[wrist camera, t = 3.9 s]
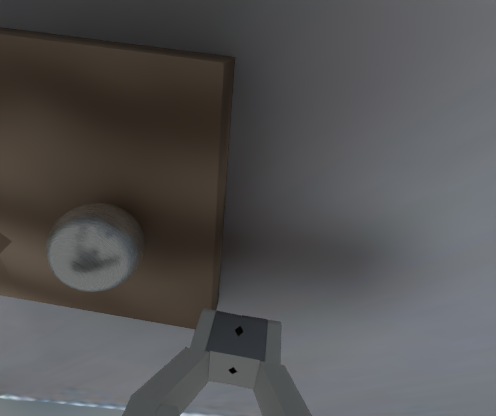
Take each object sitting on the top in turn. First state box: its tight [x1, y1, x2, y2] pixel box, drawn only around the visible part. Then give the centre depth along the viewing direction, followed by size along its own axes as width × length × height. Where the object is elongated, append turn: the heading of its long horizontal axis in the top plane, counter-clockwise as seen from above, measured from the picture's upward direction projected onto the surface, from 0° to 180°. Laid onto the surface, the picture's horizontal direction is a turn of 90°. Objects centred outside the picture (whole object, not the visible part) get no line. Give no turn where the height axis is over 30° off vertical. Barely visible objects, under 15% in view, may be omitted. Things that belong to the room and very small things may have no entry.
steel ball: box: [46, 203, 145, 292], centre depth 13 cm, size 4×4×4 cm
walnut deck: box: [0, 28, 235, 329], centre depth 16 cm, size 16×22×2 cm
